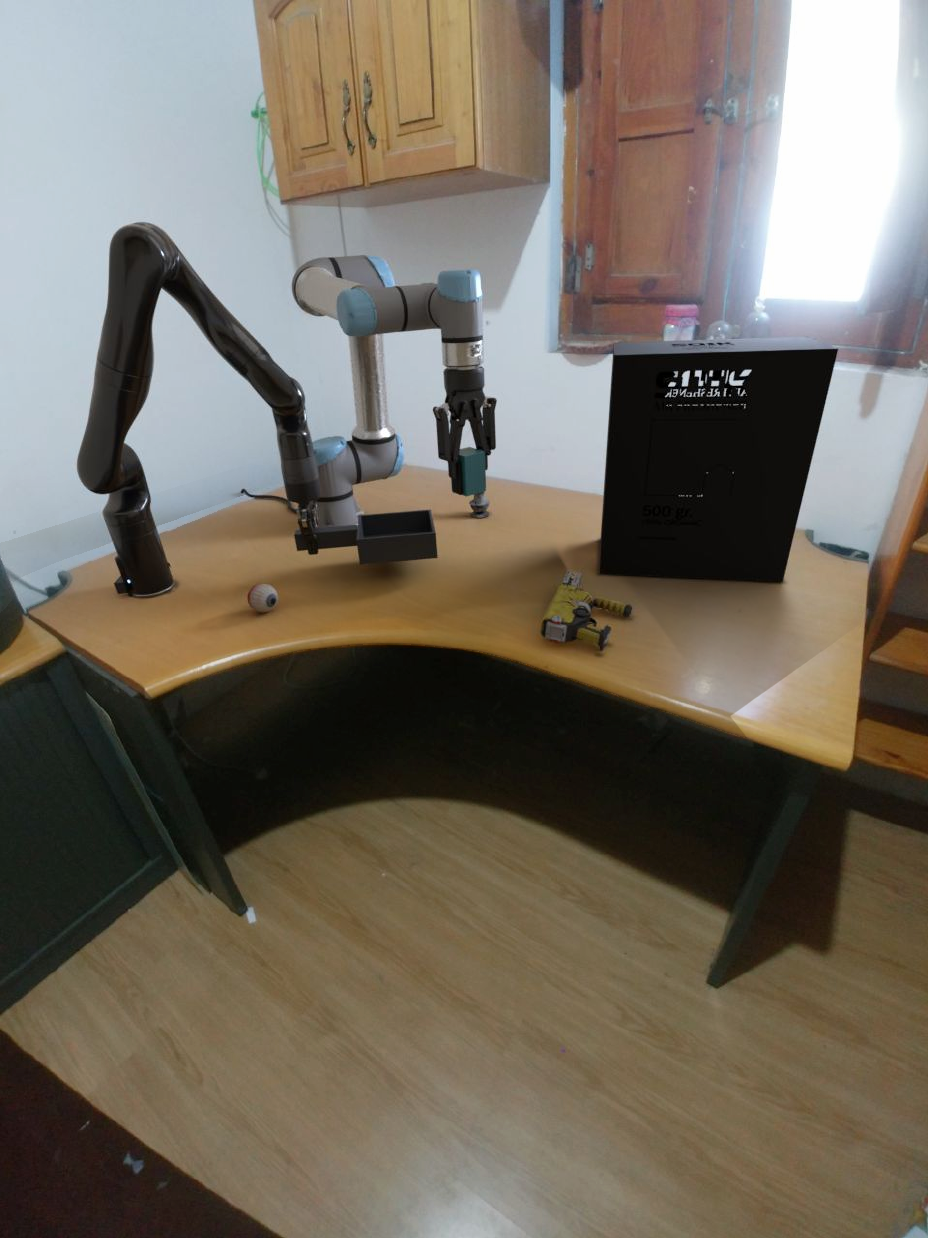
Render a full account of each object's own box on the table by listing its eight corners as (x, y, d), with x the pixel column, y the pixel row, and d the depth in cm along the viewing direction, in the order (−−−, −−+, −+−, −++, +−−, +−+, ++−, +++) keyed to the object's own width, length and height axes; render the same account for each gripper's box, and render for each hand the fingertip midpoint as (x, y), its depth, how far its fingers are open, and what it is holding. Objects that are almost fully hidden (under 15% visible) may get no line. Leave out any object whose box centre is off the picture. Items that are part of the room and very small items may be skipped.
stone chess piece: (488, 518, 168) (487, 475, 162) (467, 517, 169) (465, 475, 163) (491, 510, 173) (490, 469, 167) (471, 510, 174) (469, 469, 168)
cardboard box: (762, 543, 144) (806, 336, 121) (782, 581, 126) (838, 348, 104) (600, 538, 151) (613, 342, 129) (599, 574, 134) (614, 354, 112)
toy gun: (638, 581, 123) (566, 568, 127) (626, 636, 103) (540, 619, 107) (633, 601, 126) (563, 588, 130) (621, 659, 106) (537, 641, 110)
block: (451, 490, 123) (449, 451, 119) (471, 485, 125) (469, 446, 121) (466, 496, 119) (464, 456, 115) (486, 490, 122) (485, 451, 118)
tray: (432, 532, 147) (430, 509, 144) (437, 558, 134) (435, 532, 131) (303, 543, 145) (298, 520, 142) (295, 570, 131) (290, 545, 128)
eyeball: (265, 620, 124) (259, 594, 121) (245, 613, 127) (238, 588, 124) (287, 607, 128) (281, 582, 125) (266, 601, 131) (260, 576, 128)
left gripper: (315, 485, 123) (328, 562, 132) (321, 466, 135) (333, 537, 144) (278, 488, 123) (293, 565, 131) (287, 468, 135) (301, 540, 144)
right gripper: (434, 374, 103) (443, 505, 115) (514, 362, 112) (515, 484, 124) (411, 371, 109) (422, 496, 120) (489, 359, 117) (492, 476, 129)
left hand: (314, 550), depth 138 cm, fingers closed on tray, 3 cm apart
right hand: (469, 489), depth 122 cm, fingers closed on block, 5 cm apart
